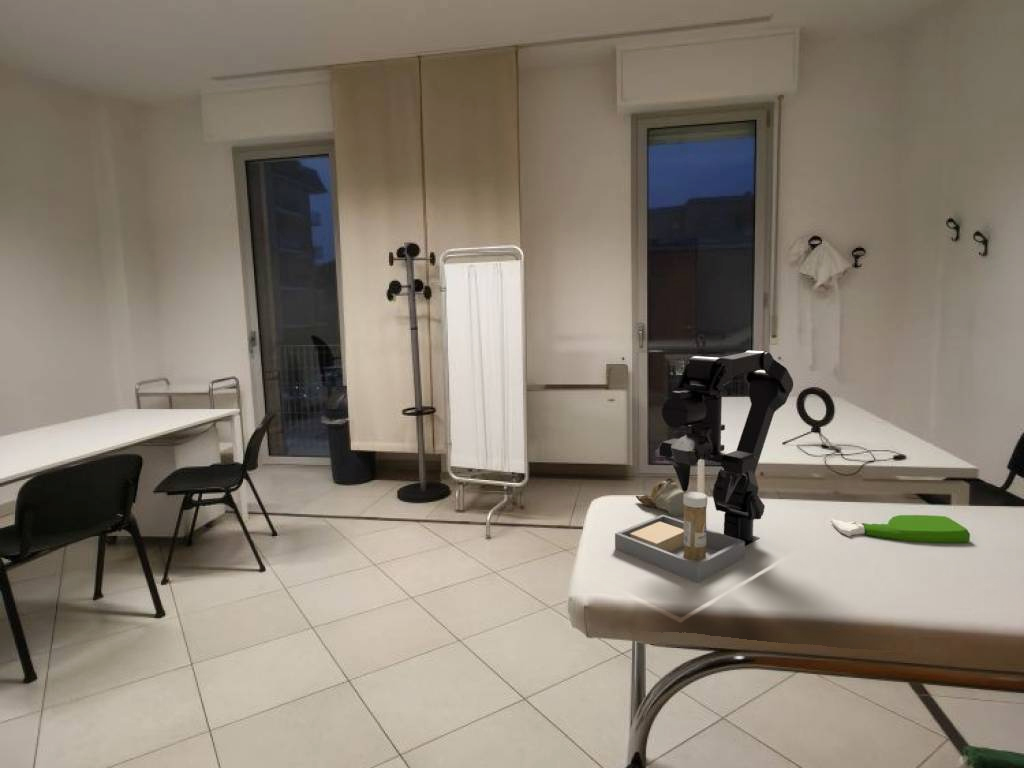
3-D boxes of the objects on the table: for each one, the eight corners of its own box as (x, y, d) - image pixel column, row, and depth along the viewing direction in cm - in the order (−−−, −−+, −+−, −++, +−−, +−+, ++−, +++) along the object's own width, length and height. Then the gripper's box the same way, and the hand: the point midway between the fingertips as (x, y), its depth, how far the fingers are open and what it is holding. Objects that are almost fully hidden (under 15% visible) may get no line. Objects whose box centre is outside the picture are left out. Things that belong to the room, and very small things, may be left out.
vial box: (659, 534, 129) (659, 521, 129) (686, 543, 124) (686, 530, 123) (630, 547, 123) (629, 533, 123) (656, 557, 118) (656, 543, 117)
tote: (662, 531, 132) (662, 514, 132) (744, 560, 117) (744, 541, 116) (615, 551, 123) (614, 533, 122) (697, 585, 107) (697, 565, 106)
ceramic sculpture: (668, 487, 136) (632, 474, 150) (668, 523, 136) (633, 507, 150) (705, 481, 139) (667, 469, 153) (705, 517, 140) (668, 501, 154)
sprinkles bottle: (706, 565, 114) (707, 499, 112) (682, 562, 115) (683, 497, 113) (706, 555, 118) (707, 491, 116) (682, 553, 119) (683, 490, 118)
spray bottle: (974, 546, 121) (846, 544, 125) (943, 526, 131) (827, 524, 135) (975, 532, 120) (847, 531, 124) (944, 513, 131) (827, 512, 135)
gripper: (641, 419, 117) (641, 494, 119) (725, 434, 102) (723, 519, 104) (675, 411, 123) (675, 482, 126) (759, 424, 109) (756, 504, 111)
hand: (704, 496), depth 117 cm, fingers open, 9 cm apart
